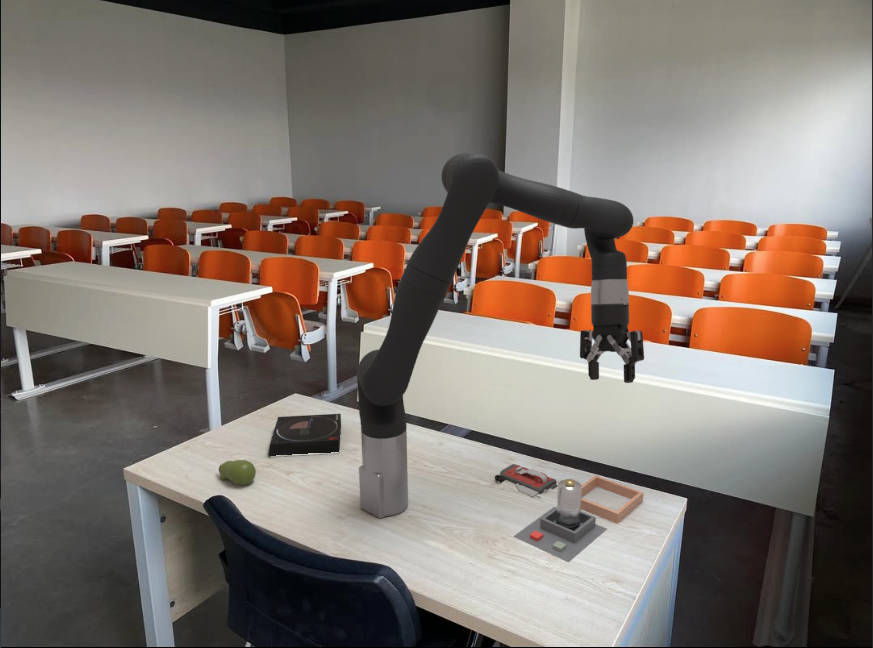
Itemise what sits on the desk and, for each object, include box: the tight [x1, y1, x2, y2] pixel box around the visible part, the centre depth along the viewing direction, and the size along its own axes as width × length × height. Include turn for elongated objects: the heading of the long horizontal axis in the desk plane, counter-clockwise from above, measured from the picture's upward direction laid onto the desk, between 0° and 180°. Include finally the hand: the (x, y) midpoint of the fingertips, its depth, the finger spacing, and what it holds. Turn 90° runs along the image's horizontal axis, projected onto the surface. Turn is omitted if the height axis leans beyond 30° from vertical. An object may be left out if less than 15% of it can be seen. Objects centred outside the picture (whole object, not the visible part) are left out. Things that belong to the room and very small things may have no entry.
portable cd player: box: [267, 413, 342, 457], centre depth 169 cm, size 16×17×4 cm
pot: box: [580, 474, 644, 524], centre depth 136 cm, size 11×11×4 cm
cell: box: [556, 478, 583, 531], centre depth 127 cm, size 4×4×10 cm
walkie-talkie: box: [494, 463, 558, 499], centre depth 143 cm, size 9×4×20 cm
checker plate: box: [512, 506, 608, 563], centre depth 126 cm, size 14×12×4 cm
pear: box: [218, 459, 257, 486], centre depth 149 cm, size 6×5×10 cm
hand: (611, 381), depth 136 cm, fingers open, 8 cm apart
